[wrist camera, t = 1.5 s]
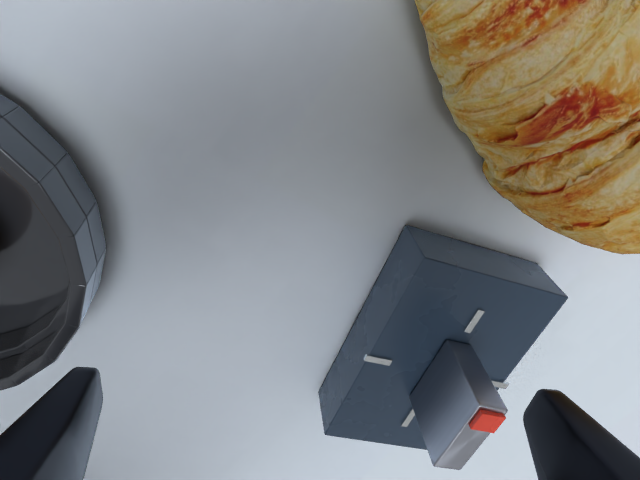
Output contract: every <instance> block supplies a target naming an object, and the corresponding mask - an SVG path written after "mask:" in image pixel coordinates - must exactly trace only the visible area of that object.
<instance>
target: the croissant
mask: <svg viewBox="0 0 640 480" xmlns="http://www.w3.org/2000/svg"><path fill="white" fill-rule="evenodd" d="M415 4H416V6H417V10H418V13H419V17H420V21H421V23H422V25H423V27H424V29H425V33H426V38H427V42H428V49H429V57H430V60H431V63H432V67H433V69H434V71H435V73H436V74H437V76H438V81H439V82H440V83H441V85H442V92H443V99H444V101H445V103H446V105H447V107H448V109H449V111H450V112H451V114H452V116H453V120H454V122H455V124H456V125H457V127H458V128H459V130H460V131H462V132H464V133H465V134H466V135H467V136H468V138H469V139H470V140H471V142H472V144H473V146H474V148H475V150H476V151H477V153H478V154H479V155H480V156H481V157H483V158H484V159H485V160H484V162H483V173H484V174H485V176H486V179H487V180H488V182H489V184H490V185H491V186H492V187H493V188H494V189H495V190H496V191H497V192H498V193H499V194H500V195H501V196H502V197H504V198H506V199H508V200H509V201H511V202H512V203H513V204H514V205H515V206H516V207H517V208H518V209H520V210H521V211H522V212H523V213H524V214H526V215H528V216H529V217H531V218H533V219H534V220H536V221H537V222H539V223H540V224H542V225H543V226H545V227H546V228H549V229H551V230H553V231H555V232H557V233H560V234H562V235H564V236H566V237H569V238H571V239H573V240H575V241H577V242H579V243H581V244H584V245H588V246H591V247H595V248H600V249H603V250H606V251H610V252H613V253H619V254H640V0H415Z"/></svg>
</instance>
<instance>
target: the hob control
mask: <svg viewBox="0 0 640 480" xmlns="http://www.w3.org/2000/svg"><path fill="white" fill-rule="evenodd" d="M567 299H568V297H567V296H566V294H565V293H564V292H563V291H562V290H561V289H560V288H559V287H558V286H557V285H556V284H555V283H554V281H553V280H552V279H551V278H550V277H549V276H548V275H547V274H546V273H545V272H544V271H543V270H542V268H541V267H540V266H539V265H538V264H537V263H534V262H530V261H527V260H524V259H520V258H517V257H513V256H510V255H507V254H503V253H500V252H497V251H493V250H490V249H486V248H483V247H480V246H476V245H473V244H469V243H466V242H463V241H459V240H456V239H453V238H449V237H446V236H442V235H439V234H436V233H432V232H429V231H425V230H422V229H419V228H415V227H412V226H409V225H405V227H404V229H403V231H402V233H401V235H400V236H399V238H398V240H397V242H396V244H395V246H394V248H393V250H392V252H391V254H390V256H389V258H388V260H387V261H386V263H385V265H384V267H383V269H382V271H381V273H380V275H379V277H378V279H377V281H376V283H375V285H374V286H373V288H372V290H371V292H370V294H369V296H368V298H367V300H366V302H365V304H364V306H363V308H362V309H361V311H360V313H359V315H358V317H357V319H356V321H355V323H354V325H353V327H352V329H351V331H350V333H349V334H348V336H347V338H346V340H345V342H344V344H343V346H342V348H341V350H340V352H339V354H338V356H337V358H336V359H335V361H334V363H333V365H332V367H331V369H330V371H329V373H328V375H327V377H326V379H325V381H324V383H323V384H322V386H321V388H320V390H319V399H320V406H321V413H322V420H323V426H324V433H325V435H329V436H336V437H343V438H350V439H357V440H363V441H370V442H377V443H384V444H391V445H398V446H404V447H411V448H418V449H425V450H427V447H426V444H425V441H424V438H423V435H422V433H421V430H420V427H419V424H418V421H417V418H416V416H415V413H414V410H413V407H412V404H411V401H410V398H409V397H410V395H411V394H412V392H413V391H414V389H415V387H416V386H417V384H418V383H419V381H420V380H421V378H422V377H423V375H424V374H425V372H426V371H427V369H428V367H429V366H430V364H431V363H432V361H433V360H434V358H435V357H436V355H437V354H438V352H439V351H440V349H441V347H442V346H443V344H444V343H445V341H446V340H450V341H455V342H459V343H464V344H468V345H471V346H472V347H473V349H474V351H475V352H476V354H477V356H478V358H479V360H480V361H481V363H482V365H483V367H484V369H485V370H486V372H487V374H488V376H489V378H490V379H491V381H492V383H493V385H494V386H495V388H496V390H498V389H499V388H503V389H506V388H507V386H508V385H509V384H508V382H504V381H505V380H506V378H507V377H508V376H509V374H510V373H511V372H512V370H513V369H514V368H515V367H516V365H517V364H518V363H519V361H520V360H521V359H522V357H523V356H524V355H525V353H526V352H527V351H528V350H529V348H530V347H531V346H532V344H533V343H534V342H535V340H536V339H537V338H538V337H539V335H540V334H541V333H542V331H543V330H544V329H545V327H546V326H547V325H548V323H549V322H550V321H551V320H552V318H553V317H554V316H555V314H556V313H557V312H558V310H559V309H560V308H561V306H562V305H563V304H564V303H565V301H566V300H567Z"/></svg>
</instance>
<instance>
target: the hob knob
mask: <svg viewBox="0 0 640 480" xmlns="http://www.w3.org/2000/svg"><path fill="white" fill-rule="evenodd" d="M409 398H410V401H411V404H412V407H413V410H414V413H415V416H416V418H417V421H418V424H419V427H420V430H421V433H422V435H423V438H424V441H425V444H426V447H427V450H428V453H429V455H430V458H431V461H432V464H433V466H434V467H441V468H449V469H456V470H460V469H462V467H463V466H464V465H465V464H466V462H467V461H468V460H469V459H470V457H471V456H472V455H473V454H474V452H475V451H476V450H477V449H478V447H479V446H480V445H481V444H482V442H483V441H484V440H485V439H486V437H487V436H488V435H489V434H490V433H494V432H495V431H496V430H497V429H498V427H499V426H500V425H501V424H502V422H503V421H504V420H505V419H506V417H505V414H506V413H507V411H508V410H507V408H506V406H505V404H504V403H503V401H502V399H501V397H500V395H499V394H498V392H497V390H496V388H495V386H494V385H493V383H492V381H491V379H490V378H489V376H488V374H487V372H486V370H485V369H484V367H483V365H482V363H481V361H480V360H479V358H478V356H477V354H476V352H475V351H474V349H473V347H472V346H471V345H468V344H464V343H459V342H455V341H450V340H446V341H445V343H444V344H443V346H442V347H441V349H440V351H439V352H438V354H437V355H436V357H435V358H434V360H433V361H432V363H431V364H430V366H429V367H428V369H427V371H426V372H425V374H424V375H423V377H422V378H421V380H420V381H419V383H418V384H417V386H416V387H415V389H414V391H413V392H412V394H411V395H410V397H409Z"/></svg>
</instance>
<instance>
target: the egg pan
mask: <svg viewBox="0 0 640 480" xmlns="http://www.w3.org/2000/svg"><path fill="white" fill-rule="evenodd" d="M105 253H106V242H105V237H104V232H103V227H102V223H101V218H100V213H99V208H98V203H97V201H96V199H95V197H94V195H93V194H92V192H91V190H90V188H89V187H88V185H87V183H86V182H85V180H84V178H83V177H82V175H81V173H80V172H79V170H78V168H77V166H76V165H75V163H74V161H73V160H72V158H71V156H70V155H69V153H67V151H66V150H65V149H64V148H63V147H62V146H61V145H60V144H59V143H58V142H57V141H56V140H55V139H54V138H53V137H52V136H51V135H50V134H49V133H48V132H47V131H46V130H45V129H44V128H43V127H42V126H41V125H40V124H39V123H37V122H36V121H35V120H34V119H33V118H32V117H31V116H30V115H29V114H28V113H27V112H26V111H25V110H24V109H23V108H22V107H19V105H18V104H16V103H15V102H13V101H11V100H10V99H8V98H6V97H5V96H3V95H1V94H0V390H4V389H7V388H10V387H14V386H17V385H19V384H21V383H22V382H24V381H26V380H27V379H29V378H30V377H32V376H33V375H35V374H36V373H38V372H39V371H41V370H43V369H44V368H46V367H47V366H49V365H50V364H52V363H53V362H55V361H56V360H57V359H58V357H59V356H60V354H61V353H62V352H63V350H64V349H65V347H66V346H67V344H68V343H69V342H70V340H71V339H72V337H73V336H74V335H75V333H76V332H77V330H78V329H79V327H80V325H81V323H82V321H83V319H84V316H85V314H86V312H87V310H88V308H89V306H90V304H91V302H92V300H93V297H94V295H95V293H96V291H97V289H98V287H99V284H100V279H101V274H102V269H103V263H104V258H105Z"/></svg>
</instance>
